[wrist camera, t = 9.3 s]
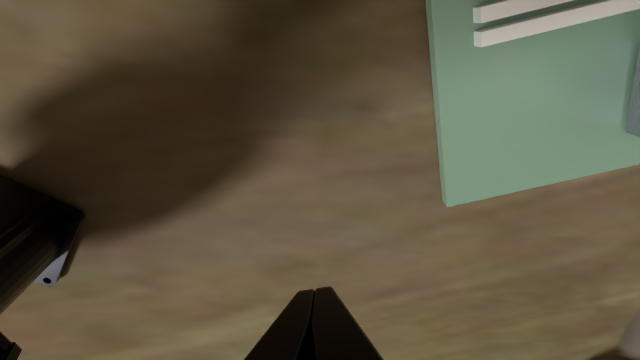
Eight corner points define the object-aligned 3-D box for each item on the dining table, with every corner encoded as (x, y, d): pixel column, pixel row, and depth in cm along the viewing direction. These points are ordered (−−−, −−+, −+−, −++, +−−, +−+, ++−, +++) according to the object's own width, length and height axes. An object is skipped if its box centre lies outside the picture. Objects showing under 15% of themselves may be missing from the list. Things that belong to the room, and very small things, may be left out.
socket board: (442, 201, 22) (471, 238, 19) (421, -50, 16) (458, -69, 13) (727, 136, 22) (818, 162, 18) (814, -151, 16) (980, -205, 12)
